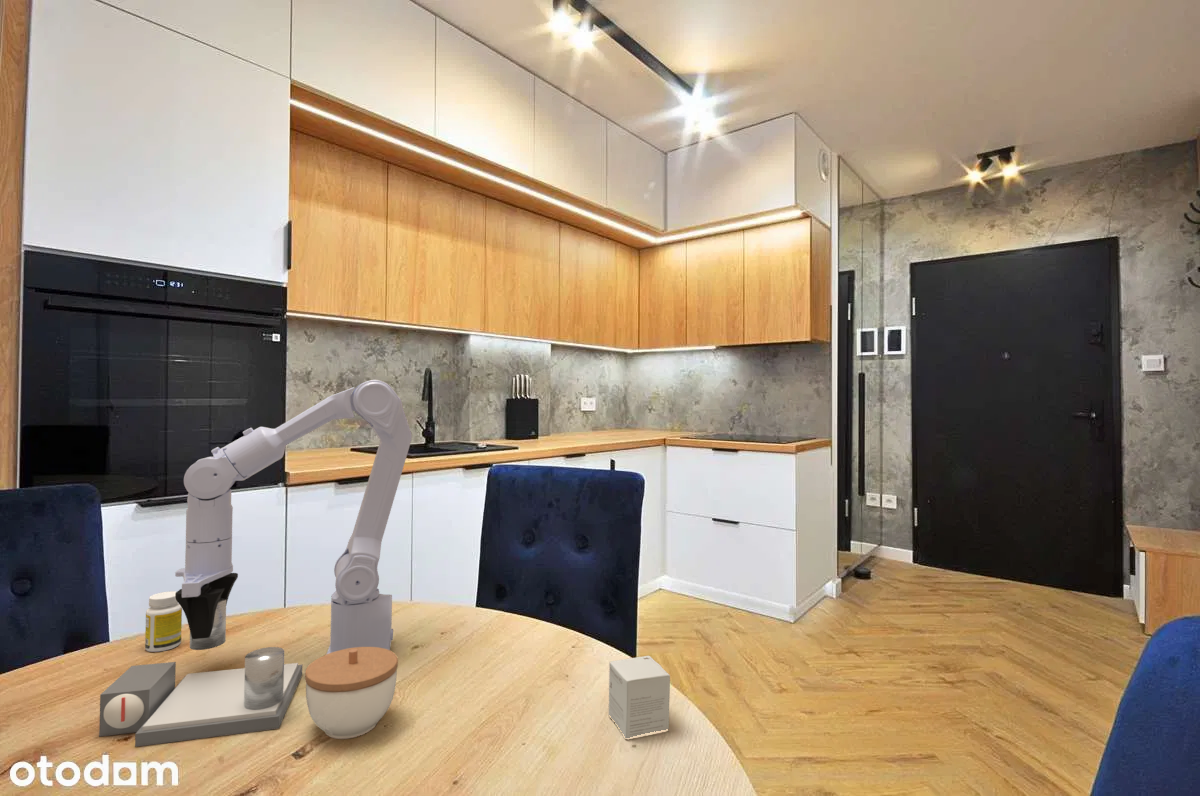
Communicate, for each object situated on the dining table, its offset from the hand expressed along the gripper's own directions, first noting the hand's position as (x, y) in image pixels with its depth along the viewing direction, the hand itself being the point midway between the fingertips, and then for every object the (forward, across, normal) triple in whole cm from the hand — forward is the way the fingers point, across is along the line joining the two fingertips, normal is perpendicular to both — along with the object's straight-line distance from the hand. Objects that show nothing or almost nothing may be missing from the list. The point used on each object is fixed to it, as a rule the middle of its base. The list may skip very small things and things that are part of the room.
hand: (207, 631), depth 87 cm
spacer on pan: (+4, +15, +11) cm, 19 cm away
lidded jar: (+7, +20, +22) cm, 30 cm away
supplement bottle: (+7, -13, -10) cm, 18 cm away
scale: (+6, +11, +3) cm, 13 cm away
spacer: (+2, 0, 0) cm, 2 cm away
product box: (+7, +29, +57) cm, 64 cm away
